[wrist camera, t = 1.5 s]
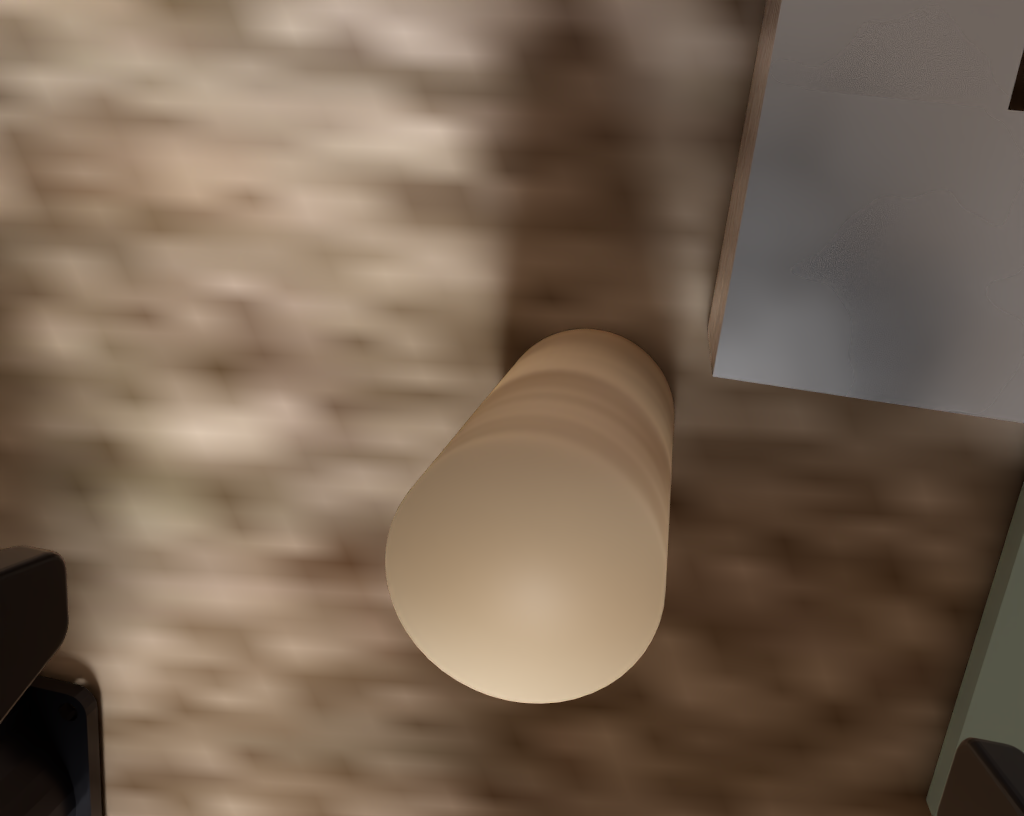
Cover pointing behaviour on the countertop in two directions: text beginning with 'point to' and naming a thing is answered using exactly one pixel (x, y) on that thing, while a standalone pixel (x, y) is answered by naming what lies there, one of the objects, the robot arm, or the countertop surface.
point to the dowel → (543, 525)
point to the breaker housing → (880, 207)
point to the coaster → (992, 665)
